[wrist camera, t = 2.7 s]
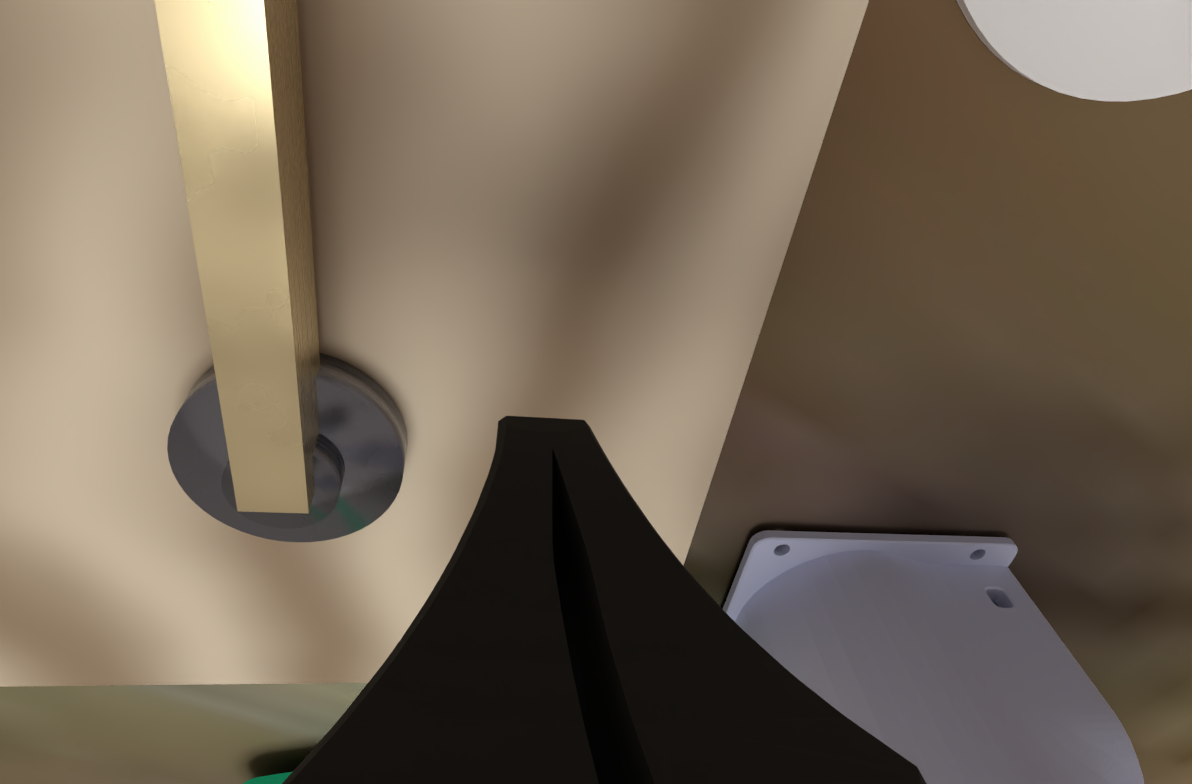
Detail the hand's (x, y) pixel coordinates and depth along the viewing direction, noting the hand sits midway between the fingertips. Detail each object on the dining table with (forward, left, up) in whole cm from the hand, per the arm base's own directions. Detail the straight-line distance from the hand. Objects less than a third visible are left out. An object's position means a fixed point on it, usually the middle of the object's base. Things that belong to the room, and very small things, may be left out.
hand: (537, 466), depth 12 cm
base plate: (+5, +3, -7) cm, 9 cm away
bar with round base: (+5, 0, -5) cm, 7 cm away
